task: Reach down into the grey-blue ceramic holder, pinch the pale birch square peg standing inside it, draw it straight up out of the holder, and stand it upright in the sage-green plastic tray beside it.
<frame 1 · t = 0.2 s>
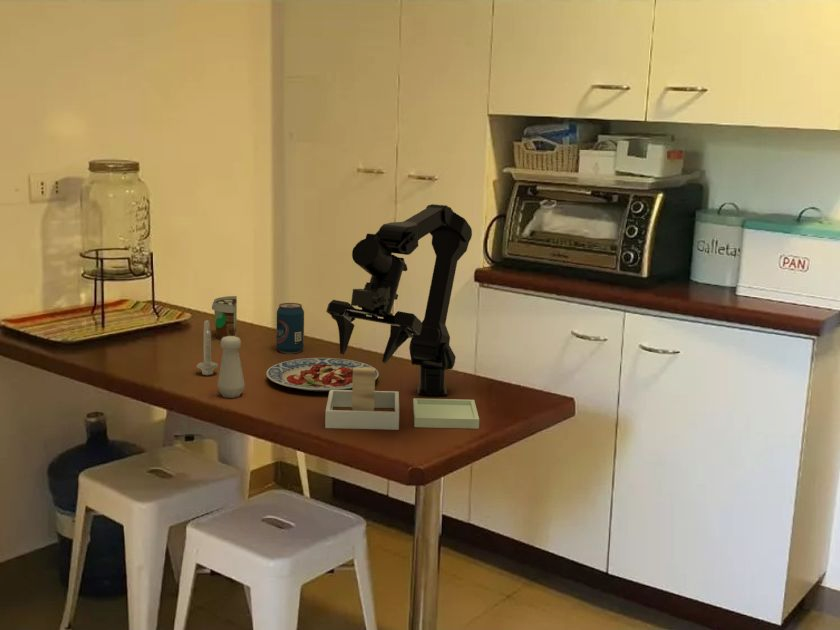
hand: (362, 358, 197), 15 cm above the counter, tool tilted 30°, fingers open, 9 cm apart
food container: (223, 337, 269), on the counter
tray: (445, 417, 209), on the counter
holder: (362, 417, 207), on the counter
ceramic plate: (322, 382, 232), on the counter
screw: (207, 374, 234), on the counter
salt shaker: (231, 396, 219), on the counter
birch peg: (363, 394, 206), in the holder
soda can: (290, 351, 257), on the counter
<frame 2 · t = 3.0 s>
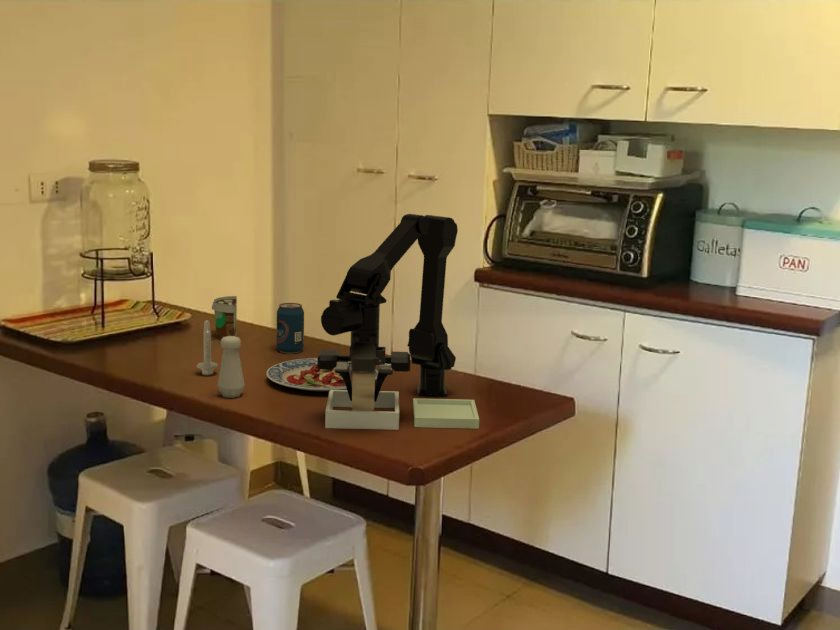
hand: (363, 400, 206), 4 cm above the counter, tool pointing down, fingers closed on birch peg, 4 cm apart
birch peg: (363, 394, 206), in the holder, touching gripper
everything else where it was.
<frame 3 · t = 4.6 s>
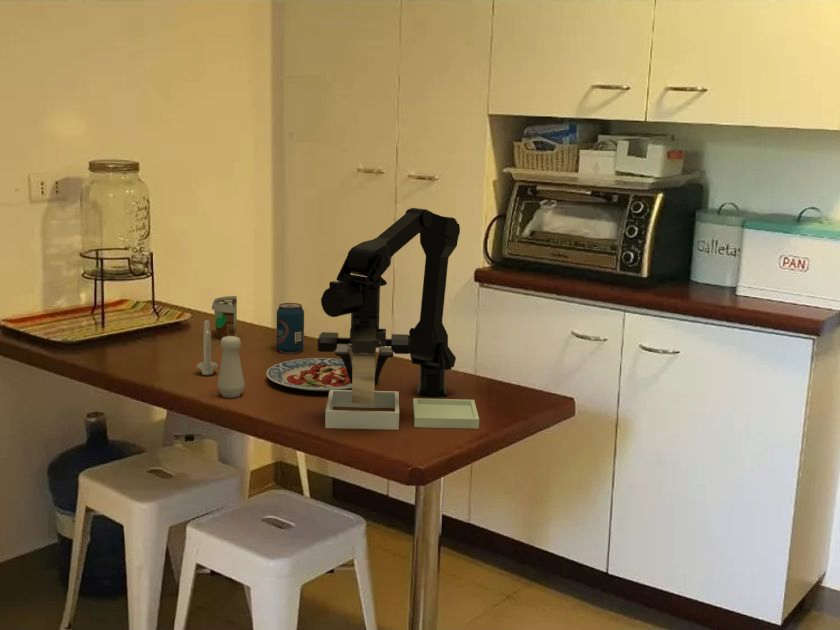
hand: (363, 383, 206), 7 cm above the counter, tool pointing down, fingers closed on birch peg, 4 cm apart
birch peg: (363, 377, 205), point 9 cm above the counter, touching gripper
everything else where it was.
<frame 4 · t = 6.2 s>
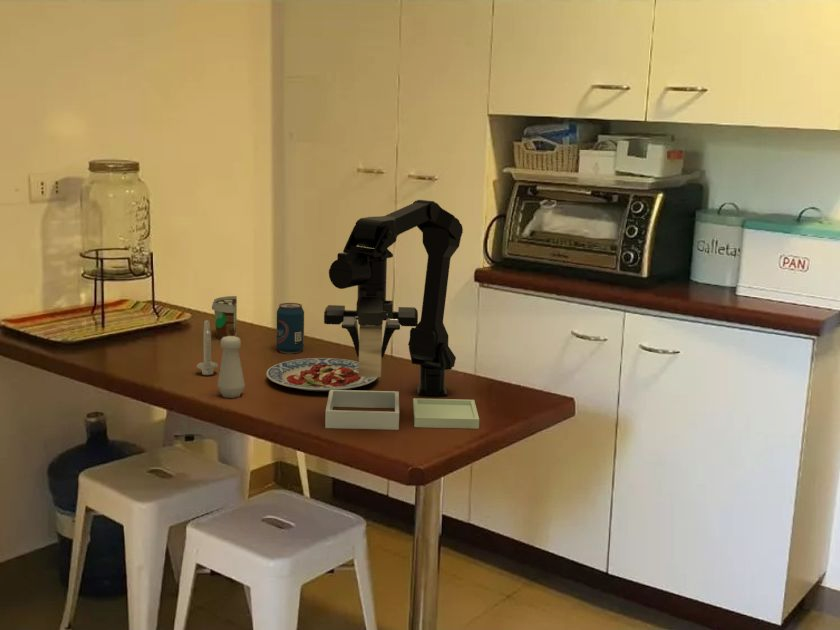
hand: (370, 356, 205), 13 cm above the counter, tool pointing down, fingers closed on birch peg, 4 cm apart
birch peg: (370, 350, 204), point 14 cm above the counter, touching gripper
everything else where it was.
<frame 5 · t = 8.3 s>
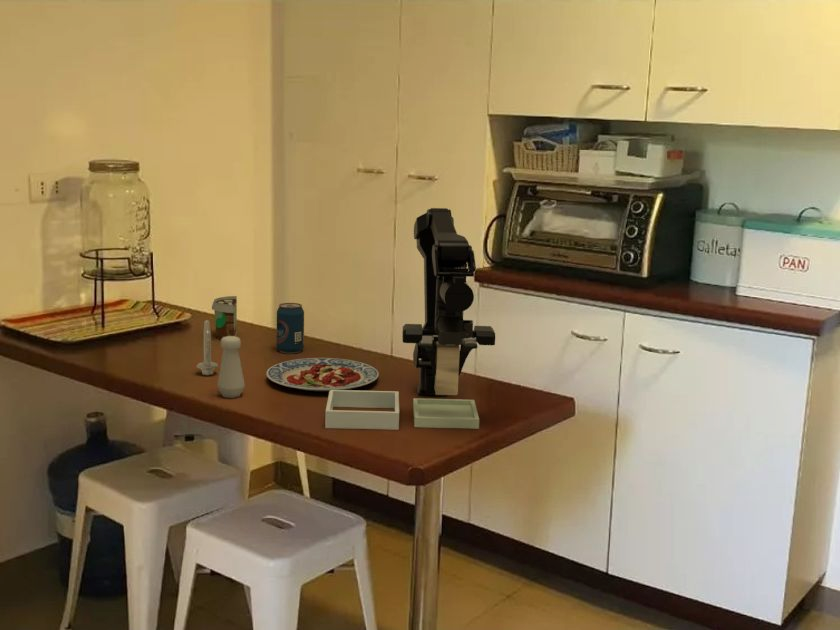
hand: (446, 375, 207), 9 cm above the counter, tool pointing down, fingers closed on birch peg, 4 cm apart
birch peg: (447, 368, 207), point 11 cm above the counter, touching gripper
everything else where it was.
when the fingers open (6 cm above the counter, at t = 9.8 s): birch peg drops 1 cm, resting on tray.
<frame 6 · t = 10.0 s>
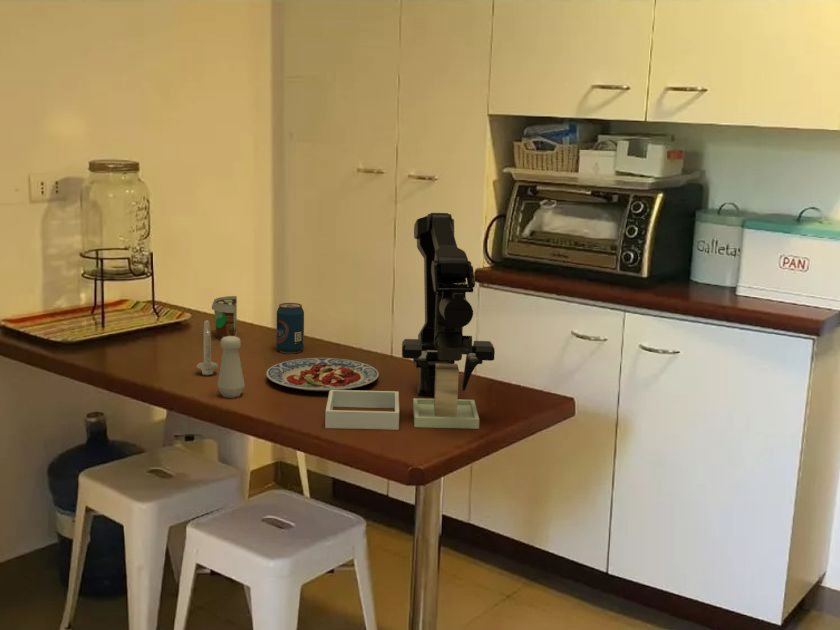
hand: (446, 389, 208), 6 cm above the counter, tool pointing down, fingers open, 7 cm apart
birch peg: (446, 389, 208), in the tray, point 6 cm above the counter
everything else where it was.
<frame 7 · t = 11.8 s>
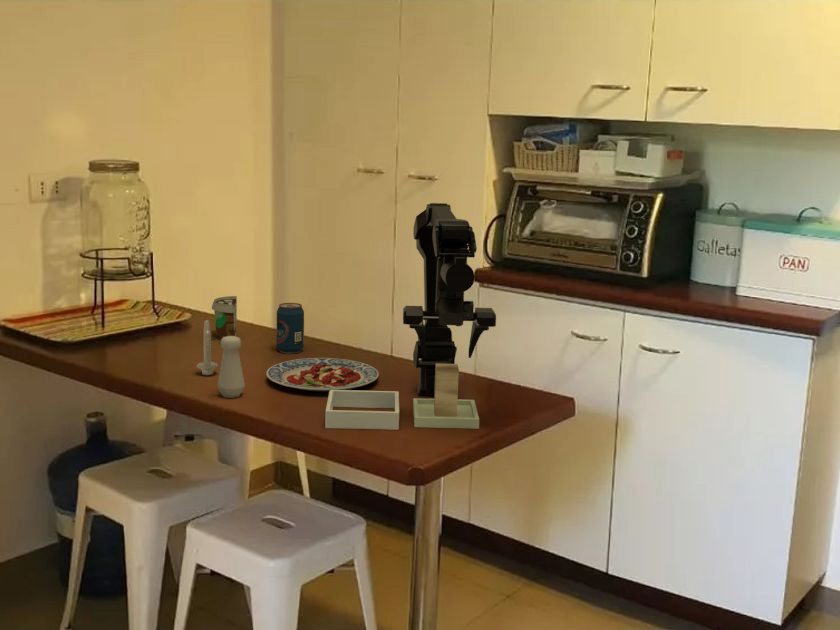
hand: (447, 356, 207), 13 cm above the counter, tool pointing down, fingers open, 9 cm apart
nothing on the counter moved.
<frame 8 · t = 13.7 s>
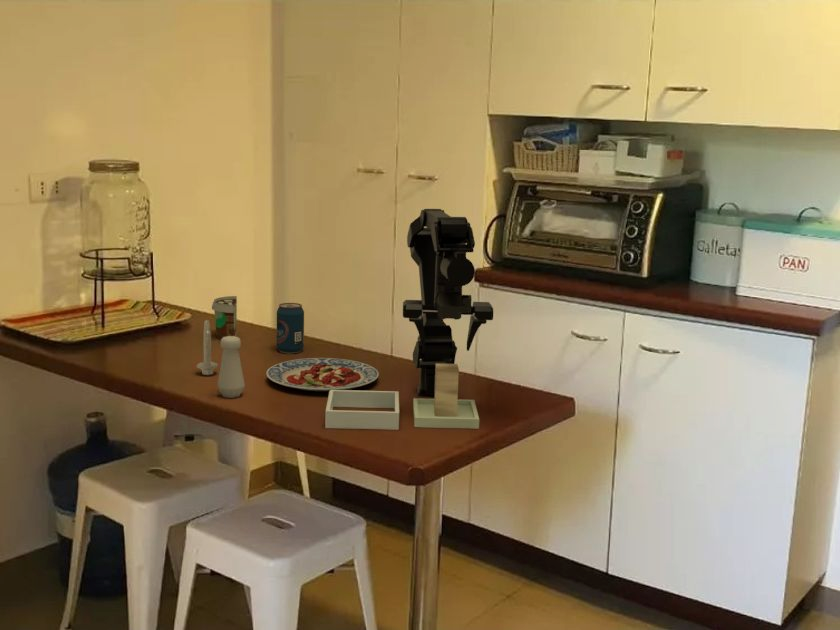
hand: (445, 349, 212), 13 cm above the counter, tool pointing down, fingers open, 9 cm apart
nothing on the counter moved.
at the end: birch peg inside the target area on the tray (0.0 cm from its centre), point 6.0 cm above the tray's base; birch peg tilted 0°; the gripper is holding nothing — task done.
